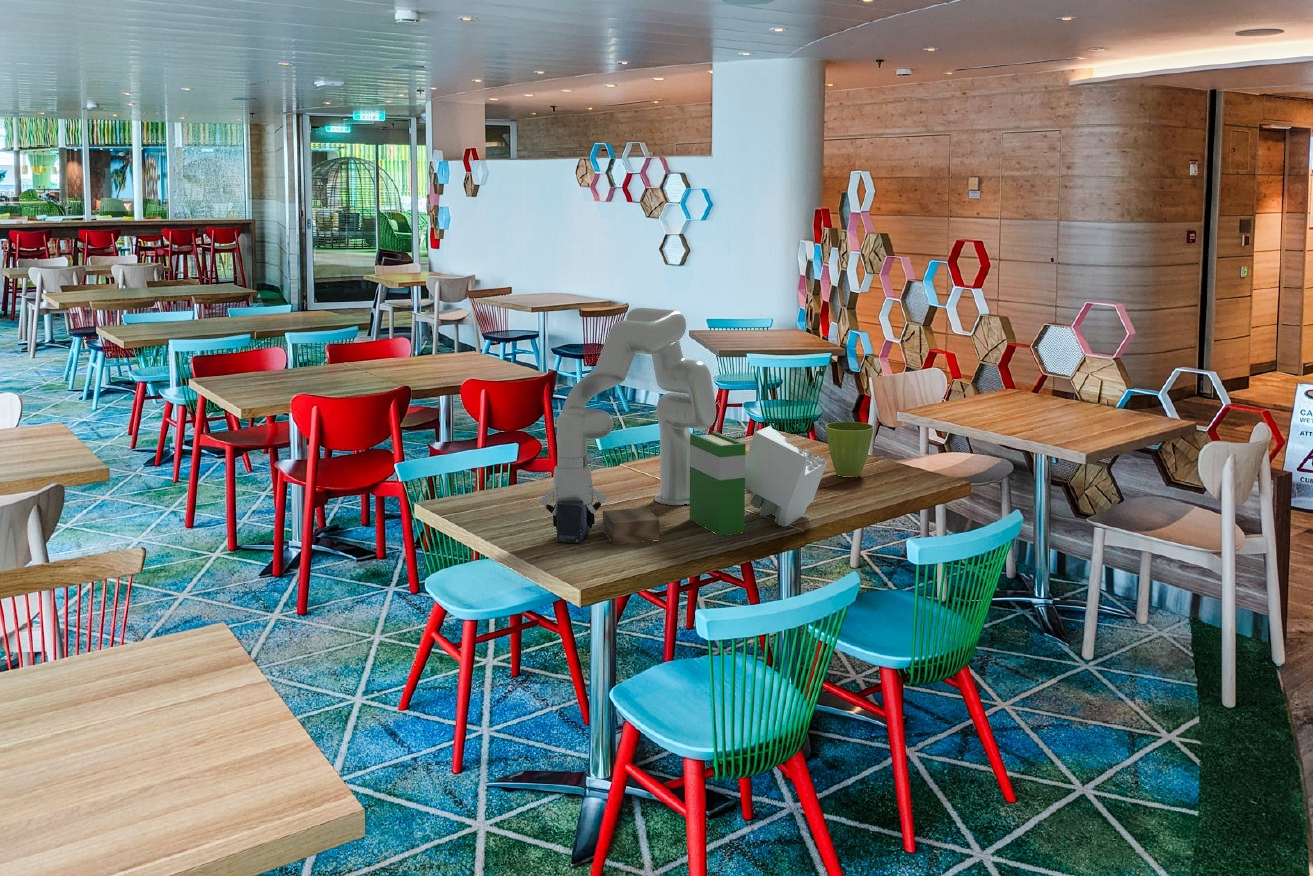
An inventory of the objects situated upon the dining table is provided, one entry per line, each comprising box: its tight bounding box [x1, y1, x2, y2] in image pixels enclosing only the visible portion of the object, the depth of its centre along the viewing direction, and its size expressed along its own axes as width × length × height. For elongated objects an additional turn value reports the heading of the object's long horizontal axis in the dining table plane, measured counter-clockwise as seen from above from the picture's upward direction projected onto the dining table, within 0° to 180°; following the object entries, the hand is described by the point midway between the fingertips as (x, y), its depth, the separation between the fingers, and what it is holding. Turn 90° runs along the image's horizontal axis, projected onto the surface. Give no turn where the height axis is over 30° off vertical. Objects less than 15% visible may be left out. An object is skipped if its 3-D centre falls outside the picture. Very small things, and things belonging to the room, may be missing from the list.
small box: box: [556, 501, 591, 544], centre depth 298 cm, size 11×6×10 cm, turn 169°
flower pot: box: [825, 421, 874, 477], centre depth 365 cm, size 15×15×16 cm
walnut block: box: [602, 507, 660, 545], centre depth 301 cm, size 12×12×6 cm
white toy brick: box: [745, 425, 828, 528], centre depth 314 cm, size 20×16×25 cm
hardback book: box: [689, 430, 747, 537], centre depth 308 cm, size 18×7×24 cm, turn 24°
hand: (573, 527), depth 299 cm, fingers closed on small box, 8 cm apart
